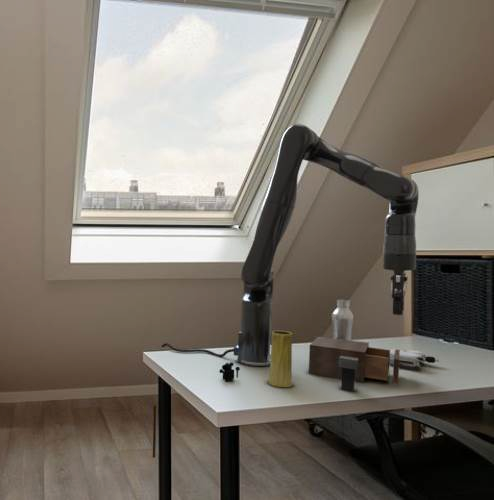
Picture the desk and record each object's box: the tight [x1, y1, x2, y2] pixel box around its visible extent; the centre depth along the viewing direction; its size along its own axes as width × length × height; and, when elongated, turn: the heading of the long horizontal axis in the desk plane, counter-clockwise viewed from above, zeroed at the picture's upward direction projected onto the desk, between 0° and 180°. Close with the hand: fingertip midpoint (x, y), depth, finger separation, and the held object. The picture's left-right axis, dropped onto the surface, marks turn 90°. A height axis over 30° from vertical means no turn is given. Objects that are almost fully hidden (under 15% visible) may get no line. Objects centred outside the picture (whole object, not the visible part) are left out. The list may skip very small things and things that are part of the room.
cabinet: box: [308, 336, 370, 383], centre depth 143 cm, size 15×15×9 cm
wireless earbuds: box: [219, 361, 241, 382], centre depth 133 cm, size 7×2×5 cm, turn 117°
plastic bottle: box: [331, 299, 355, 341], centre depth 157 cm, size 6×7×20 cm
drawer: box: [364, 346, 421, 385], centre depth 138 cm, size 18×13×7 cm
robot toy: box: [389, 349, 440, 366], centre depth 154 cm, size 12×4×15 cm
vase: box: [268, 330, 293, 388], centre depth 130 cm, size 6×6×14 cm
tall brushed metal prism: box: [339, 356, 359, 393], centre depth 127 cm, size 4×2×8 cm, turn 59°
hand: (398, 312), depth 127 cm, fingers open, 8 cm apart
